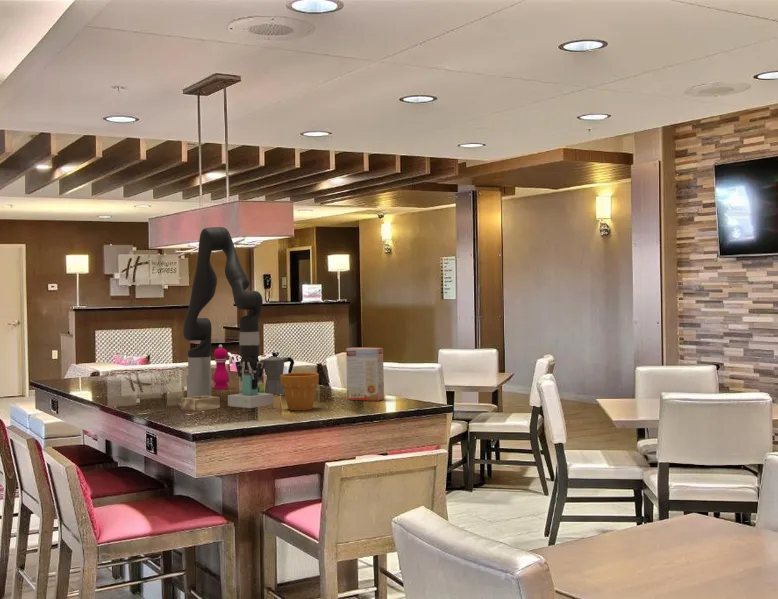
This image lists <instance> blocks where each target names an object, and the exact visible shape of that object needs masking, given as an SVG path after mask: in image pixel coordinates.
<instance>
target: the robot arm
mask: <svg viewBox="0 0 778 599" xmlns="http://www.w3.org/2000/svg"><path fill="white" fill-rule="evenodd" d="M198 239H199V240H198V249H197V250H198V251H197V260H196V261H197V262H196V268H195V273H194V277H193V281H192V288H191V294H190V300H189V303H188V304H189V305H188V309H187V311H186V316H185V319H184V323H183V330H182V332H183V333H182V334H183V337H184V339H185V340H186V341H191V342H193V341H199V344H197V346H195V347H192V348H191V349H189V350H188V351H187V367H188V368H187V370H188V371H187V372H188V374H187V375H186V397H193V396H201V395H203V396H212V362H211V361H212V358H211V357H212V355H211V353H212V352H211V351H212V335H213V334H212V332H213V330H212V322H211V320H210V319H209V318H207V317H199V315H200V313H201V311H202V310H203V309H204V308H205V307H206V306H207V305H208V304H209V303H210V301H211V300H213V298H214V297H215V294H216V289H217V284H218V283H217V282H218V277H217V274H216V272H215V269H214V268H213V267H212V265H211V254H212V252H215V251H216V252H217V251H223V253H224V254H225V256H226V257H225V258H226V260H225V266H224V274H225V278H226V280H227V281H228V284H229V285H230V287H231V290H232V295H233V296H232V297H233V302H234V304H235V306H236V308H238V309H239V310H242V311H243V310H244V311H248V312H247V314H246V315H243V316H241V317H240V318H239V356H240V360H239V361H235V363H234V364H235V369H236V372H237V376H238V378H239V377H241V378H242V375H244V373H248V372H250V374H251V377H252V379H253V380H252V389H257V387H258V378H261V377H262V374H263V370H264V371H265V369H264V365H265V363H261V362H259V361H260V360H259V356H260V354H261V351H260V348H261V347H260V333H259V322H260V321H259V320H260V316H261V312H262V308H263V303H264V302H263V300H264V299H263V296H262V294H261V293H260V292H259V291H257V290H248V288H249V287H250V281H249V279H248V276H247V275H246V273H245V271H244V269H243V267H242V265H241V262H240V260H239V257H238V254H237V250H236V248H235V245H234V241H233V238H232V235H231V234H230V231H229V230H228V229H227V228H226V227H224V226H214V227H213V226H212V227H211V226H210V227H205V228H203V229H202V230H201V232H200V233H199V238H198ZM253 370H255V371H253ZM240 371H241V372H240ZM259 372H260V373H259ZM241 373H242V374H241ZM254 373H255V376H254Z"/></svg>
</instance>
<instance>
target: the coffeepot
mask: <svg viewBox="0 0 778 599" xmlns="http://www.w3.org/2000/svg"><path fill="white" fill-rule="evenodd" d="M276 354H277V353H276V352H274V351H273V352H272V356H270V357H267V358H264V359H260V360H259V362H261V363H265V365H264V372H265V376H266V380H265V384H264V393H267V394H273V395H280V394H285V392H284V388H283V386H282V385H281V375H282V374H284V367H285V363H288V362H289V367H288V370H287V373H293V372H292V371H293V368H294V365H295V360H294V359H293V358H292V357H291V356H288V357H279V356H276Z"/></svg>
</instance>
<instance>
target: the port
mask: <svg viewBox="0 0 778 599" xmlns="http://www.w3.org/2000/svg"><path fill="white" fill-rule="evenodd" d="M269 406H274V396H273V394H267V393H258V395H253V396H246V395H243V393H241V394H239V393H234V394H230V395H229V394H228V395H227V407H232V408H244V409H254V408H261V407H269Z"/></svg>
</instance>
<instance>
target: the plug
mask: <svg viewBox="0 0 778 599" xmlns="http://www.w3.org/2000/svg"><path fill="white" fill-rule="evenodd" d="M254 376H255V373H254ZM252 380H253V379H252V377H251V374H250V372H248V373H244V375H242V383H243V395H246V396H253V395H258V387H257V389H252Z"/></svg>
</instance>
